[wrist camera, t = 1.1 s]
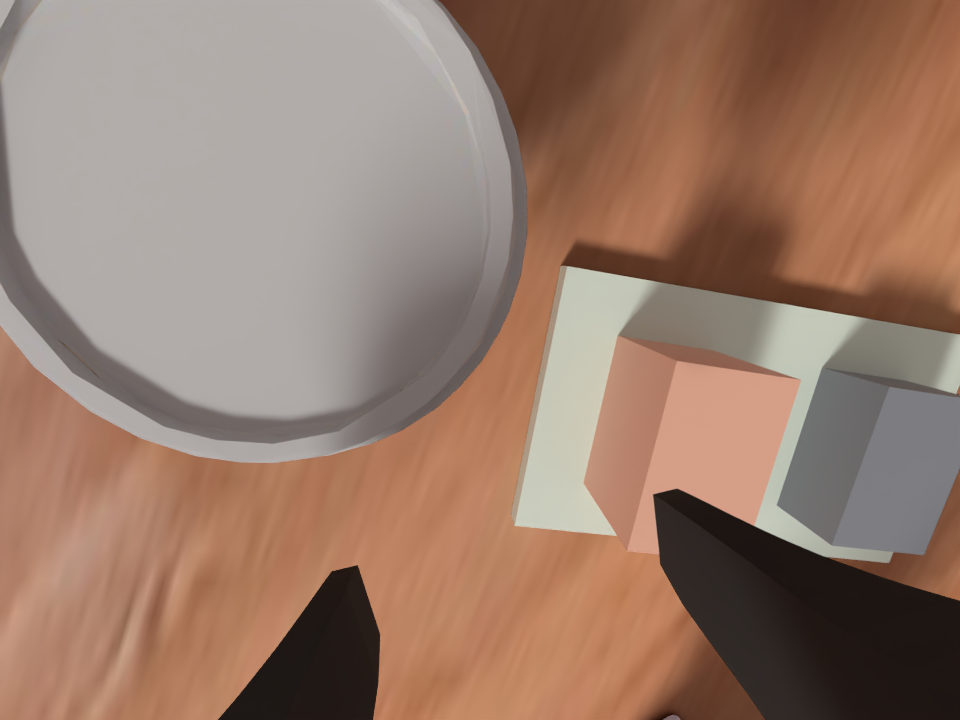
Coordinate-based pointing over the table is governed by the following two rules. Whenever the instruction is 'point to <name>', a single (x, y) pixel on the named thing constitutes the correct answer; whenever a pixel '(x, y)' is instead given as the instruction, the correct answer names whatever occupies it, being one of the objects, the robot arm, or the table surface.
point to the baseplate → (707, 325)
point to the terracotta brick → (684, 434)
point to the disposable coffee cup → (254, 215)
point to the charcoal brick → (874, 462)
